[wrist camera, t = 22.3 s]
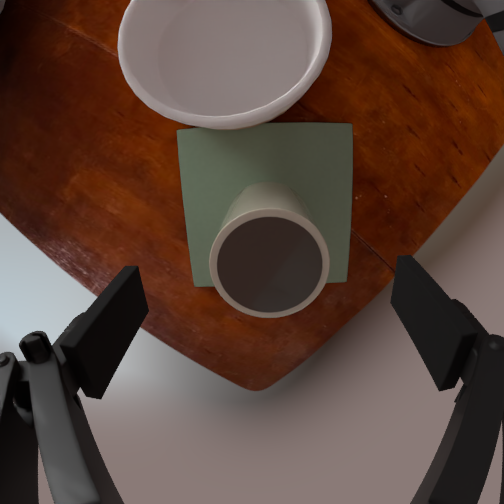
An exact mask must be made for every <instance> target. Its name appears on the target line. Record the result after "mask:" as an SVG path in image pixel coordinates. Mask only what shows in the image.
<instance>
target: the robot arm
mask: <svg viewBox="0 0 504 504" xmlns="http://www.w3.org/2000/svg"><path fill="white" fill-rule="evenodd" d="M368 2H369V3H370V5H371V6H372V8H373V9H374V10H375V11H376V13H377V14H378V15H379V16H380V17H381V18H382V19H383V20H384V21H385V22H386V23H387V24H388V25H390V26H391V27H392V28H393V29H395V30H396V31H397V32H399V33H400V34H402V35H404V36H405V37H407V38H409V39H411V40H413V41H415V42H417V43H420V44H423V45H426V46H430V47H449V46H452V45H455V44H459V43H461V42H463V41H465V40H466V39H467V38H468V37H469V36H470V35H471V34H472V33H473V31H474V30H475V28H476V26H477V25H478V24H479V23H480V22H481V21H482V20H483V19H484V18H485V20H486V22H487V24H488V25H489V27H490V29H491V31H492V33H493V35H494V37H495V39H496V41H497V43H498V45H499V47H500V49H501V51H502V53H503V56H504V0H368ZM391 304H392V306H393V308H394V309H395V311H396V313H397V315H398V316H399V318H400V320H401V321H402V323H403V325H404V327H405V328H406V330H407V332H408V334H409V336H410V337H411V339H412V341H413V343H414V344H415V346H416V348H417V350H418V352H419V354H420V355H421V357H422V359H423V361H424V363H425V365H426V367H427V369H428V370H429V372H430V374H431V376H432V378H433V380H434V382H435V384H436V386H437V388H438V390H439V391H443V390H447V389H451V388H455V386H456V384H457V381H458V379H459V377H461V379H462V381H463V383H464V384H463V386H462V388H461V390H460V392H459V394H458V396H457V397H456V399H455V401H454V402H456V405H455V408H454V411H453V413H452V416H451V419H450V421H449V424H448V426H447V429H446V431H445V434H444V437H443V439H442V441H441V444H440V446H439V448H438V450H437V452H436V455H435V457H434V459H433V461H432V463H431V465H430V468H429V469H428V472H427V473H426V475H425V478H424V479H423V481H422V483H421V485H420V487H419V489H418V491H417V492H416V494H415V496H414V498H413V500H412V501H411V503H410V504H477V503H478V500H479V498H480V495H481V492H482V489H483V487H484V484H485V481H486V478H487V475H488V472H489V469H490V465H491V462H492V458H493V455H494V451H495V447H496V443H497V439H498V435H499V431H500V426H501V421H502V431H503V462H502V483H501V493H500V503H499V504H504V338H503V337H501V336H499V335H494V334H492V335H489V333H488V332H487V331H486V330H485V329H484V327H483V326H482V325H481V324H480V323H479V322H478V320H477V319H476V318H474V315H473V314H472V313H470V311H469V310H468V308H467V307H466V306H465V305H464V304H463V303H461V302H459V301H458V300H456V299H452V300H451V299H450V298H449V296H448V295H447V294H446V293H445V292H444V291H443V290H442V288H441V287H440V286H439V285H438V284H437V283H436V282H435V281H434V279H432V277H431V276H430V275H429V274H428V273H427V272H426V271H425V270H424V269H423V268H422V267H421V265H420V264H419V263H418V262H417V261H416V260H415V259H414V258H413V257H412V256H411V255H400V256H397V264H396V271H395V278H394V285H393V291H392V296H391ZM148 312H149V309H148V305H147V301H146V297H145V293H144V289H143V285H142V281H141V277H140V272H139V268H138V266H125V267H124V268H123V269H122V270H121V271H120V272H119V273H118V275H117V276H116V277H115V278H114V279H113V280H112V281H111V283H110V284H109V285H108V286H107V287H106V288H105V289H104V291H103V292H102V293H101V294H100V295H99V296H98V298H97V299H96V300H95V301H94V302H93V304H92V305H91V306H90V307H89V308H88V310H87V311H86V312H84V313H81V314H80V315H78V316H77V317H75V318H74V319H73V320H72V322H71V323H70V324H69V326H67V328H66V329H65V330H64V332H63V333H62V334H61V335H60V336H59V338H58V339H57V340H56V341H55V343H54V344H53V345H51V343H50V341H49V339H48V337H47V335H46V333H45V332H43V331H35V332H32V333H30V334H28V335H26V336H25V337H24V338H22V340H21V341H20V343H19V347H20V349H21V351H22V353H23V355H24V357H25V358H26V360H27V361H17V359H16V357H15V355H14V354H13V353H11V352H5V353H1V354H0V504H39V502H38V501H39V500H38V445H39V449H40V454H41V458H42V462H43V466H44V470H45V474H46V477H47V481H48V484H49V488H50V491H51V494H52V497H53V500H54V503H55V504H124V502H123V501H122V498H121V497H120V495H119V493H118V491H117V489H116V487H115V485H114V483H113V481H112V479H111V476H110V474H109V472H108V470H107V468H106V466H105V463H104V461H103V459H102V457H101V454H100V452H99V449H98V447H97V445H96V442H95V440H94V437H93V435H92V432H91V429H90V427H89V424H88V421H87V418H86V415H85V413H84V410H83V407H82V404H81V400H80V398H79V396H78V395H77V392H78V390H79V388H80V387H81V389H82V390H83V392H84V394H85V395H86V397H91V398H96V399H102V397H103V395H104V393H105V391H106V389H107V387H108V385H109V383H110V381H111V379H112V377H113V375H114V373H115V371H116V369H117V368H118V366H119V364H120V362H121V360H122V358H123V356H124V355H125V353H126V351H127V349H128V347H129V346H130V344H131V342H132V340H133V338H134V337H135V335H136V333H137V331H138V329H139V328H140V326H141V324H142V322H143V321H144V319H145V317H146V315H147V314H148ZM13 402H14V403H13Z"/></svg>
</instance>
